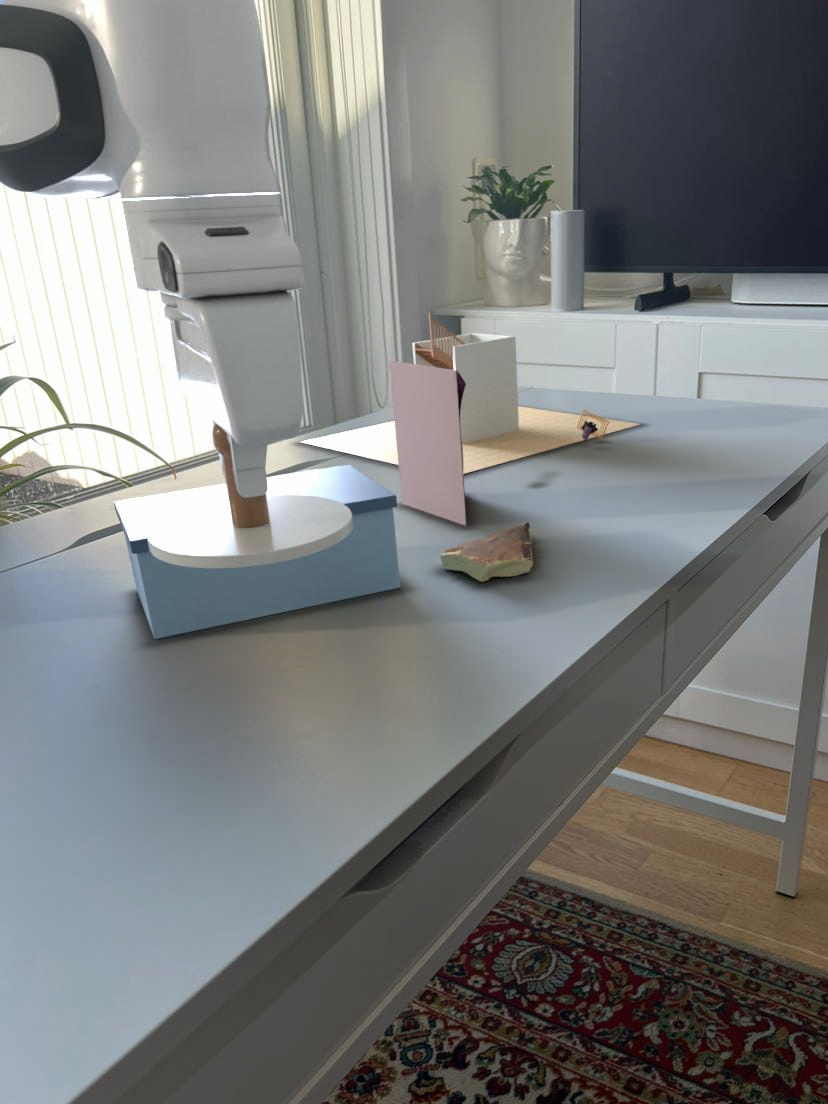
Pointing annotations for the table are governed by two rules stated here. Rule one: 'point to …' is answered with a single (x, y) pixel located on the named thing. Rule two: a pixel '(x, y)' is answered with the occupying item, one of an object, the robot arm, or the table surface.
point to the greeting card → (429, 438)
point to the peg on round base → (248, 526)
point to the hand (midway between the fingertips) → (245, 487)
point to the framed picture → (591, 426)
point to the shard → (492, 555)
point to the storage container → (258, 591)
